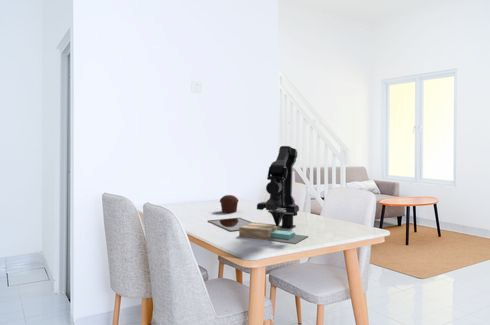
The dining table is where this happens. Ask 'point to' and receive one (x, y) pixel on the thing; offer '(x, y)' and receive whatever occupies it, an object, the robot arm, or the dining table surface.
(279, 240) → the mat
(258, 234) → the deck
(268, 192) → the robot arm
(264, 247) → the dining table surface
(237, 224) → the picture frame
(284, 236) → the teal rectangular block
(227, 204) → the muffin
